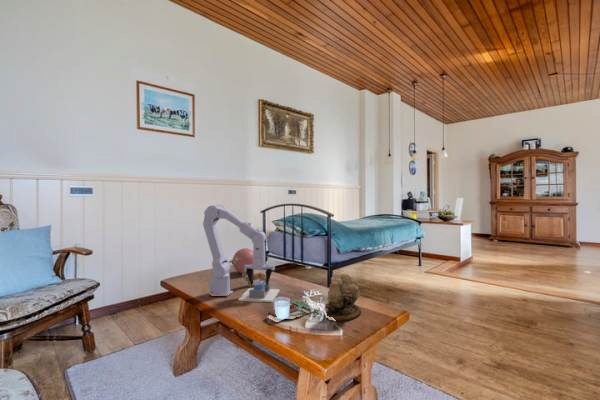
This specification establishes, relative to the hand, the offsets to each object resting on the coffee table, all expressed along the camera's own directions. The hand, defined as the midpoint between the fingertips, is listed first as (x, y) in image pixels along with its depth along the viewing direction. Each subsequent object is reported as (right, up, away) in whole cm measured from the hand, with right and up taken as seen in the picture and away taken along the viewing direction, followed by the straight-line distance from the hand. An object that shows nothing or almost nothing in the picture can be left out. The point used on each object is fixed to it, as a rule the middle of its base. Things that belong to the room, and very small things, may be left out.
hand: (259, 284), depth 146 cm
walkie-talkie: (+16, -6, -23) cm, 29 cm away
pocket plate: (0, -5, 0) cm, 5 cm away
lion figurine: (-5, -5, +16) cm, 18 cm away
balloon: (-16, -5, +40) cm, 43 cm away
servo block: (0, -4, 0) cm, 4 cm away
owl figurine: (+37, -6, -23) cm, 44 cm away
